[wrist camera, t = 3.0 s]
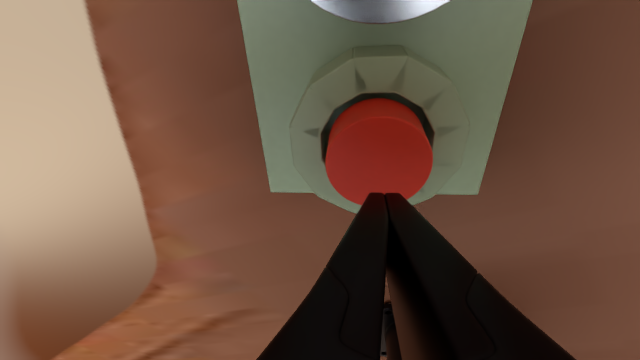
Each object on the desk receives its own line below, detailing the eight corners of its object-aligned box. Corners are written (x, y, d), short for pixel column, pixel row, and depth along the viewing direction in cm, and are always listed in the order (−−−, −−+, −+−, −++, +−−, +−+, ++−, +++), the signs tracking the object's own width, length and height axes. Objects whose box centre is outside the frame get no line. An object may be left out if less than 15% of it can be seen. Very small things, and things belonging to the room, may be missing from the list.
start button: (417, 182, 13) (425, 209, 11) (330, 181, 13) (327, 207, 12) (429, 96, 11) (441, 115, 9) (326, 98, 11) (322, 117, 10)
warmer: (467, 175, 16) (492, 221, 13) (277, 174, 17) (261, 216, 14) (595, -335, 8) (742, -526, 5) (208, -273, 9) (134, -396, 6)
